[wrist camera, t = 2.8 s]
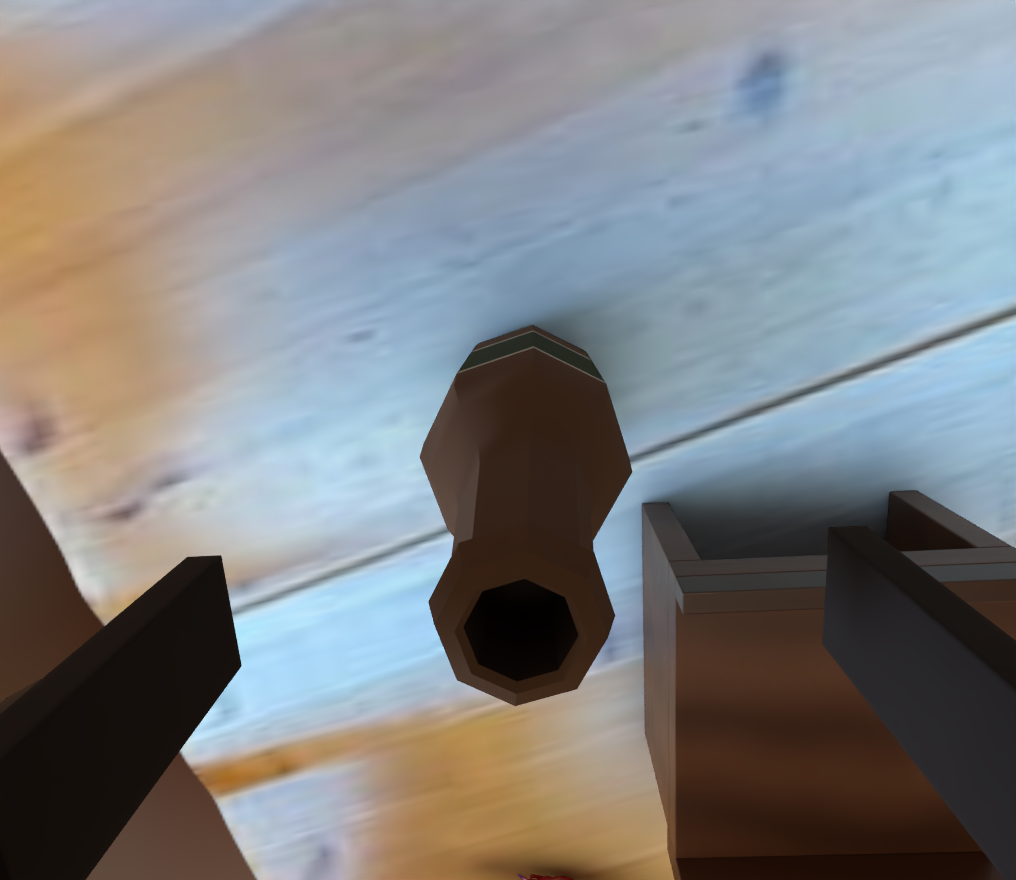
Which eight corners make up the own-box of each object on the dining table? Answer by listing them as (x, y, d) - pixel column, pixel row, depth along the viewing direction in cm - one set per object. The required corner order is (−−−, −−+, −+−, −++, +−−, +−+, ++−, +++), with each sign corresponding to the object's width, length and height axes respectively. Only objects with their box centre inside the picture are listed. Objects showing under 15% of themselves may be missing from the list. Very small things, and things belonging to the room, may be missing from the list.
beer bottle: (607, 327, 35) (759, 454, 12) (592, 469, 37) (698, 820, 14) (458, 317, 35) (314, 422, 12) (452, 459, 37) (318, 790, 14)
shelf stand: (641, 503, 37) (774, 790, 17) (917, 489, 36) (1402, 773, 16) (645, 753, 41) (754, 1224, 21) (892, 745, 41) (1253, 1226, 20)
